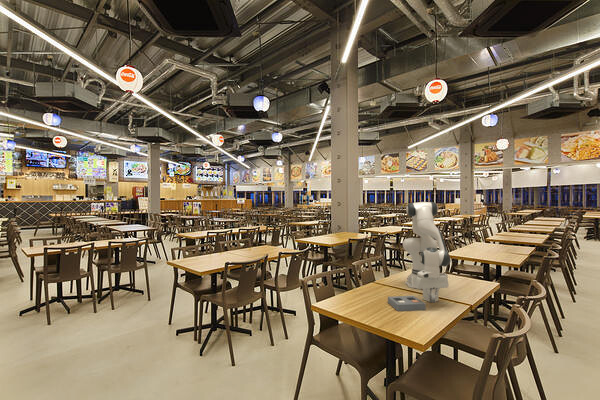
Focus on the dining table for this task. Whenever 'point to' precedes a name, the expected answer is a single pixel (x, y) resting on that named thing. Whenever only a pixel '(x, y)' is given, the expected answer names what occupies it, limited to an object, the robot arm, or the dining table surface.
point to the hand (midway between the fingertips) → (432, 294)
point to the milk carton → (427, 297)
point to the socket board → (406, 303)
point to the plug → (432, 295)
